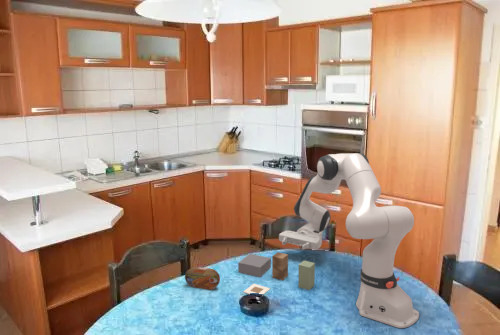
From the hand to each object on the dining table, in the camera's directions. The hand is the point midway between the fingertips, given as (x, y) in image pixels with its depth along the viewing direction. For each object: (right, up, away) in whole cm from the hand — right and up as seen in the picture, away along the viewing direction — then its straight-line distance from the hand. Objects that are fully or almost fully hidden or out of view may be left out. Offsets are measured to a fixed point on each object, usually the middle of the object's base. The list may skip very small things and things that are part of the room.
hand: (292, 245), depth 191 cm
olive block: (+4, -14, -17) cm, 22 cm away
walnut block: (-6, -12, -8) cm, 16 cm away
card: (-17, -15, -20) cm, 30 cm away
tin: (-39, -15, -16) cm, 45 cm away
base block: (-17, -11, -1) cm, 21 cm away
